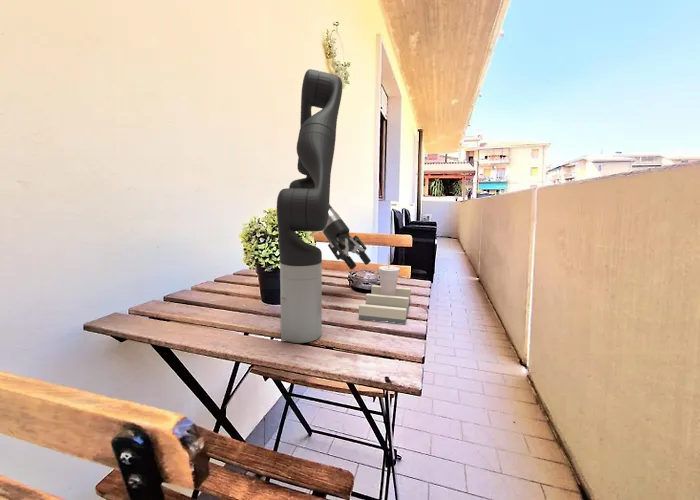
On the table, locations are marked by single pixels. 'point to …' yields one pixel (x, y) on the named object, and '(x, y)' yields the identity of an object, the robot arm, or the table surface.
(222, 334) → the table surface
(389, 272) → the smoothie
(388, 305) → the rack
